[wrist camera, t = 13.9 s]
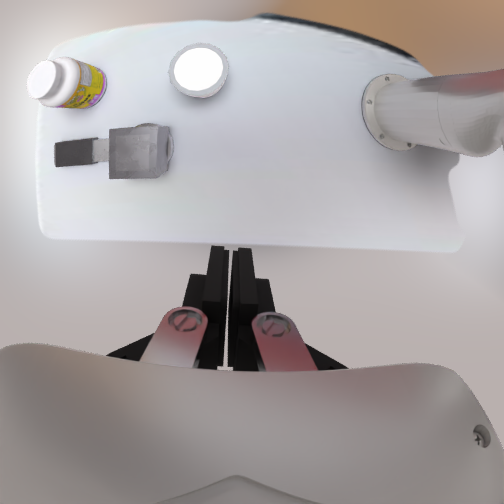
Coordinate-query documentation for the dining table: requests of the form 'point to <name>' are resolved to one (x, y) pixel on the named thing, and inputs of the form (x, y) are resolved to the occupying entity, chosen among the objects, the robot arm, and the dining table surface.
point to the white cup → (199, 70)
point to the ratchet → (90, 150)
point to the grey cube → (138, 152)
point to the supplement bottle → (66, 83)
